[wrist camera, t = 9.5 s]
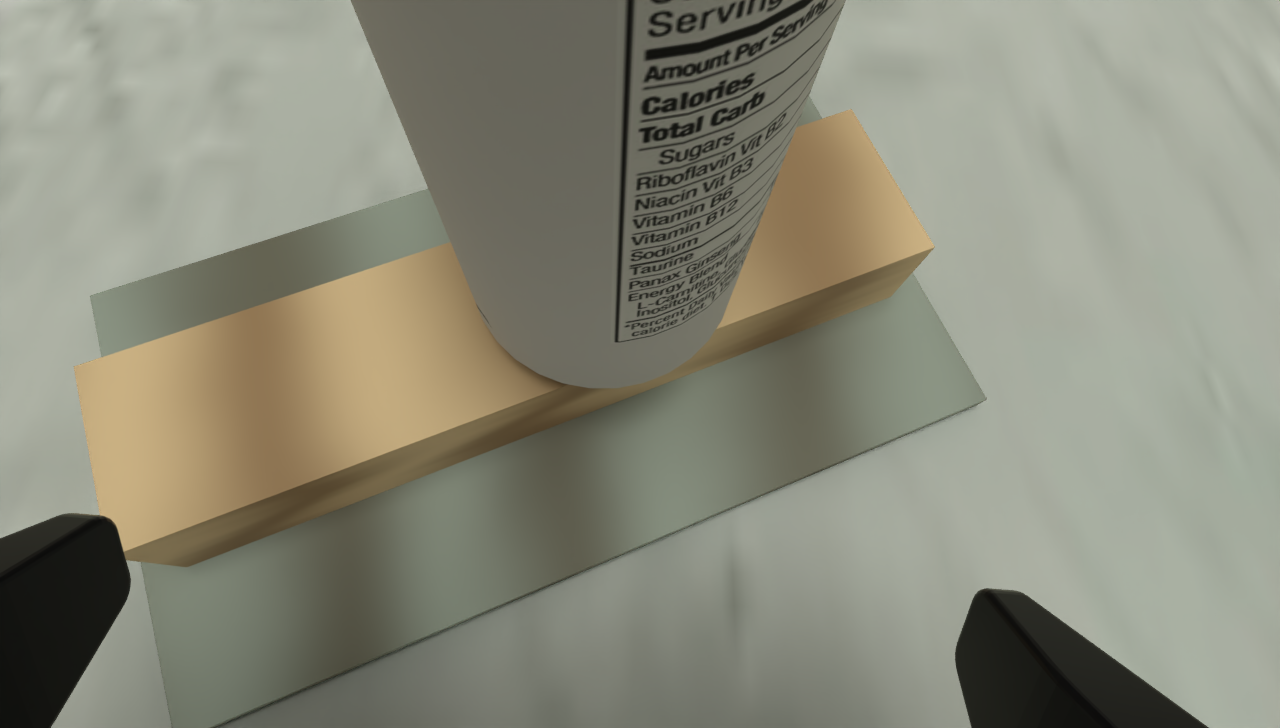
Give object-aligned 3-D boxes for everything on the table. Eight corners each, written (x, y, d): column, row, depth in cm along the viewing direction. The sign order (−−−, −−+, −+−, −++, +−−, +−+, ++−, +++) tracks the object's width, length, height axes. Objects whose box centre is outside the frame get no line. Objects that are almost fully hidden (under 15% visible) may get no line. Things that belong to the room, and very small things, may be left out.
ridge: (188, 738, 17) (85, 767, 14) (104, 304, 21) (5, 242, 17) (976, 405, 21) (1048, 363, 17) (791, 85, 24) (820, -2, 21)
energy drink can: (586, 135, 19) (527, -1299, 5) (774, 266, 18) (1414, -1066, 4) (424, 298, 17) (-422, -1194, 3) (623, 454, 16) (744, -706, 2)
